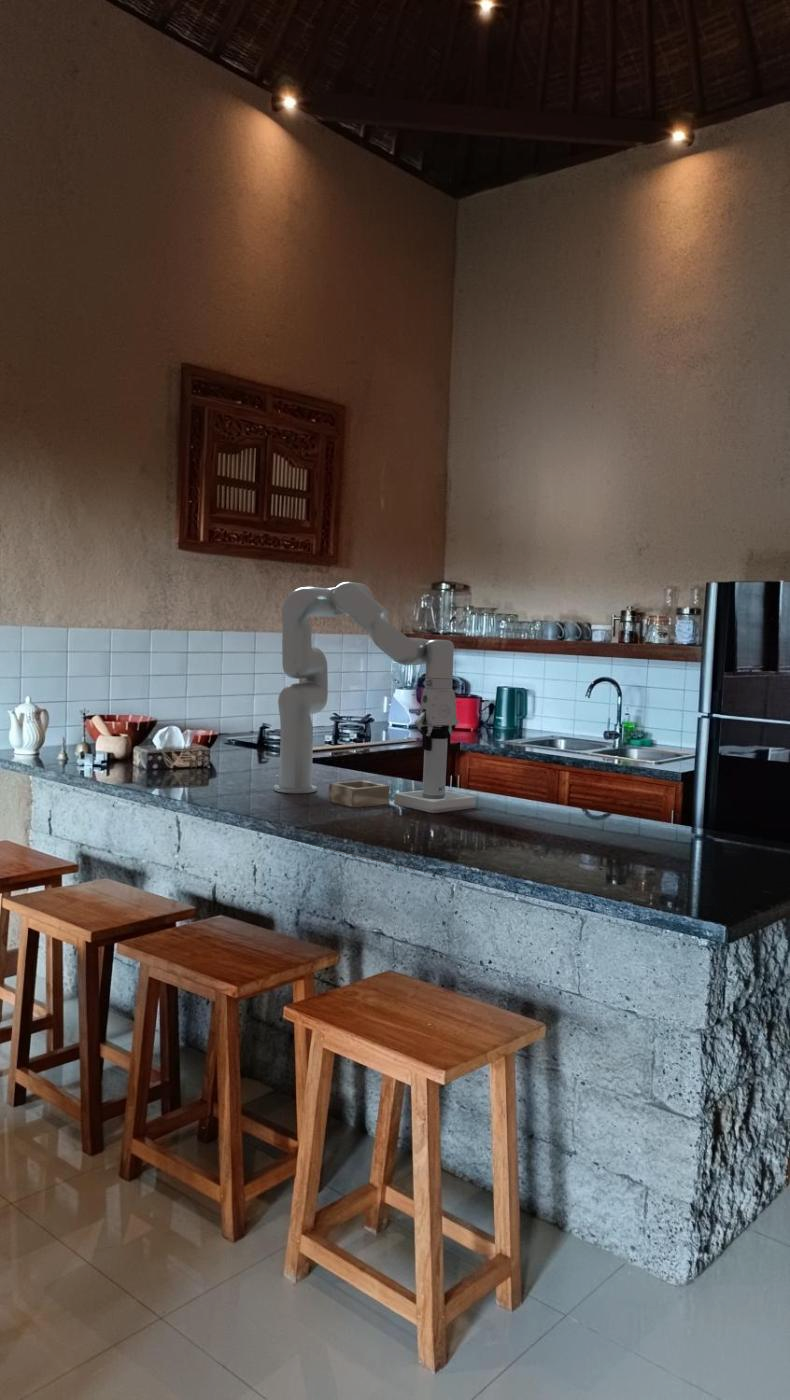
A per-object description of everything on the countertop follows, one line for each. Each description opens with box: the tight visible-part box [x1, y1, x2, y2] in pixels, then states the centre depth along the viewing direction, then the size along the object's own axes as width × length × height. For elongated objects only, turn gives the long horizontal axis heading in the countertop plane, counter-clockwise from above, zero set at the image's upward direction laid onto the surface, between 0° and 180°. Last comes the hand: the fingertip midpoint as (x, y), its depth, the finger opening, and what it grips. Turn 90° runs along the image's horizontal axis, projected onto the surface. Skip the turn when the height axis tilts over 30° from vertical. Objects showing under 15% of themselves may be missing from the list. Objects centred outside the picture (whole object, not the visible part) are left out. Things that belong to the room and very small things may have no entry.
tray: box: [393, 789, 477, 814], centre depth 282 cm, size 16×16×3 cm
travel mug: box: [422, 726, 449, 799], centre depth 281 cm, size 6×7×20 cm
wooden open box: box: [328, 779, 390, 808], centre depth 284 cm, size 12×12×5 cm
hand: (436, 748), depth 281 cm, fingers closed on travel mug, 6 cm apart
